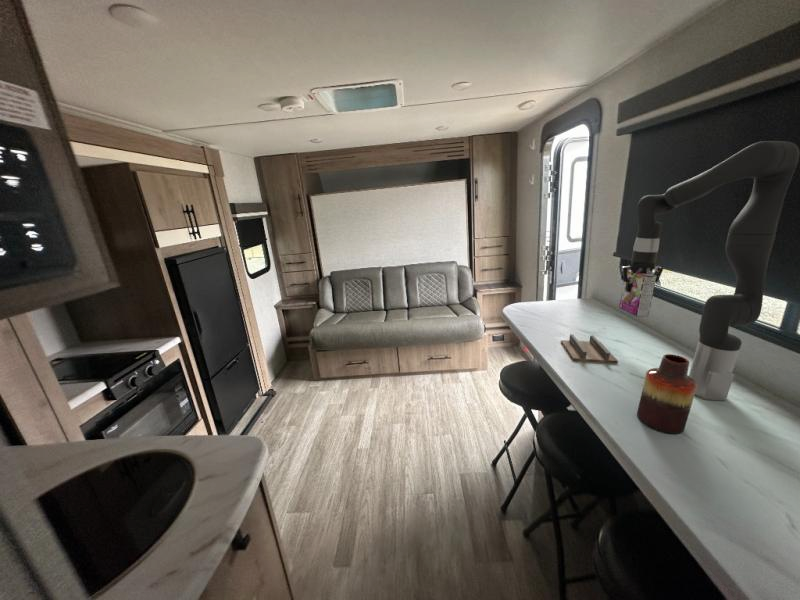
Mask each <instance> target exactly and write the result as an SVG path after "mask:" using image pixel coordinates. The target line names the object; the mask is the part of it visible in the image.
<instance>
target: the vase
mask: <svg viewBox="0 0 800 600" xmlns="http://www.w3.org/2000/svg"><path fill="white" fill-rule="evenodd" d="M689 365H690V361H689V359H687V358H685V357H683V356H681V355H677V354H671V353H670V354H667V353H666V354H664V355H663V356H662V359H661V361H660V364H659V366H658V367H652V368H649V369H648V370H647V371H646V374H645V378H644V382H643V385H642V386H643V387H642V391H641V395H640V400H639V403H638V407H637V412H636V416H637V418H638V420H639V421H640V423H642V424H643V425H644V426H646V427H647V428H649V429H651V430H653V431H656V432H659V433H663V434H665V435H666V434H667V435H680V434H682V433H683V432H684V431H685V428H686V425H687V422H688V419H689V414H690V412H691V408H692V405H693V401H694V397H695V396H696V395H695V391H696V388H697V384H696V382H695V381H694V379H692V378H691V377H689V374H688V371H689V367H690V366H689Z"/></svg>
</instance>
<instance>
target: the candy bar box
mask: <svg viewBox="0 0 800 600" xmlns="http://www.w3.org/2000/svg"><path fill="white" fill-rule="evenodd" d="M630 273H631V270H630V269H629V271H628V272H627V278H628V277H629V274H630ZM631 275H634V274H633V273H632V274H631ZM656 278H657V276H654V275H653V274H652V273H651V274H644V273H639V274H637V275H636V279H634V281H633V282H632V289H631V292H630V293H628V292H627V291H626V290H625V287H626V282H624V281H623V284H622V290H621V295H620V300H619V306H618V308H619V309H621V310H623V311H625V312H626V313H629V314H631V315H632V316H634V317H638V318H639V317H641V318H642V317H649V313H650V310H651V304H652V300H653V296H654V291H655V286H656V283H657V282H656Z"/></svg>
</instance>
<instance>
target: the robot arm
mask: <svg viewBox="0 0 800 600" xmlns="http://www.w3.org/2000/svg"><path fill="white" fill-rule="evenodd" d="M799 160H800V149H799V147H798V145H797V144H796V143H794V142H791V141H787V140H783V141H782V140H762V141H758V142H755V143H752V144H750V145H748V146H746V147H744V148H743V149H741V150H739V151H737V152H736V153H735V154H733V155H731V156H730V157H728V158H726V159H725V160H724V161H722V162H719V163H718V164H716V165H714V166H712V167H711V168H710V169H707V170H705V171H703V172H702V173H700V174H698V175H695V176H693V177H692V178H688V179H686V180H684V181H681V182H680V183H677V184H675V185H673V186H670V187H669V188H667V190H666V192H665V193H663V194H648V195H644V196H643V197H641V198H640V199H639V201H638V203H637V206H636V217H637V224H638V226H637V227H638V229H637V234H636V237H635V242H634V244H633V248H632V249H633V250H632V256H631V260H630V264H629V265H626V266H623V265H621V266H620V275H621V276H620V278H621V279H620V280H621V281H623V283H624V282H626V287H625V290H626V291H627V292H628V293H630V292H631V289H632V282H633V281H634V279H636V275H637V274H639V273H644V274H651V275H654V276H657V278H656V282H655V283H658V281H659V280H660V278H661V275H662V273H663V271H664V268H663V267H662V266H656V261H657V256H658V253H659V249H660V248H659V247H660V238H661V233H662V227H663V225H662V223H661V222H660V221H656V217H655V215H658V216H659V215H663V214H664V215H665V214H667V213H670V212H672V211H673V210H675V209H677V208H679V206H682V205H685V204H687V203H688V204H689V203H690V202H693V201H696V200H698V199H700V198H701V199H702V197H704V196H707V195H708V194H709V193H711V192H712V191H714V190H715V189H717V188H718V187H720V186H723V185H725V184H728V183H731V182H735V181H740V180H744V179H753V186H752V190H751V194H750V197H749V199H748V201H747V203H746V204H745V206H743V208H742V209H741V210H740V212H739V213H738V214H737V216H736V218H734V219H733V221H732V223H731V225H730V227H729V229H728V233H727V237H726V241H725V249H724V252H725V255H726V258H727V260H728V262H729V265H730V266H731V267H732V269H733V272H734V273H735V274H734V275H735V278H736V283H735V290H734V293H733V294H716V295H715V294H714V295H712V296H710V297H708V299H706V301H705V303H704V305H703V308H702V312H701V316H700V317H701V318H700V323H699V328H698V329H699V330H698V332H699V338H698V339H699V340H698V342H697V346H696V349H695V353H694V356H693V360H692V362H691V367H690V370H689V374H688V376H689V377H691V378H692V379H694V381H695V382H696V384H697V388H696V391H695V395H694V396H697V397H700V398H701V399H703V400H707V401H709V400H711V401H721V402H722V401H723V402H724V401H725V402H726V401H727V398H728V396H729V392H730V389H731V386H732V383H733V380H734V377H735V374H734V373H733V370H734V368H735V365H736V361H737V359H738V356H739V352H740V350H741V347H742V340H741V338H739V337H737V335H733V334H731V333H729V328H730V326H750V325H753V324H754V323H755V322H757V320H758V319H759V317H760V316H761V312H762V308H763V300H764V288H765V280H766V274H767V270H768V266H769V260H770V256H771V253H772V249H773V245H774V242H775V239H776V235H777V229H778V224H779V220H780V217H781V213H782V209H783V205H784V201H785V197H786V195H787V191H788V189H789V187H790V184H791V181H792V179H793V176H794V173H795V171H796V169H797V166H798V163H799ZM629 270H631V273H630V274H629V277H628V278H627V272H628V271H629ZM653 271H654V272H653ZM652 272H653V274H652ZM632 273H633V274H634V275H631V274H632Z"/></svg>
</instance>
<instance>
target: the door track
mask: <svg viewBox="0 0 800 600" xmlns="http://www.w3.org/2000/svg"><path fill="white" fill-rule="evenodd" d="M560 343H562V344H561V345H562V346H564V347H563V348H564V349H566V350H565V351H566V353H567V352H568V353H567V354H568V356H569V355H570V356H569V358H570V359H571V360H572V361H573V362H582V361H585V362H586V363H600V364H601V363H603V364H614V365H615V364H618V363H619V360H618V359H617V358H616V357H615V356H614V355H613V354H612V352H610V351H609V349H608V348H607V347H606V346H605V345H604V344H603V343H602V342H601V341H599V340H598V339H597V338H596V337H595V336H594V335H591V334H590V336H589V341H588V340H587V341H586V340H585V341H584V340H578V339H577V338H576V336H575V334H571V333H570V334H569V340H567V339H561V340H560ZM585 362H584V363H585Z"/></svg>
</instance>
